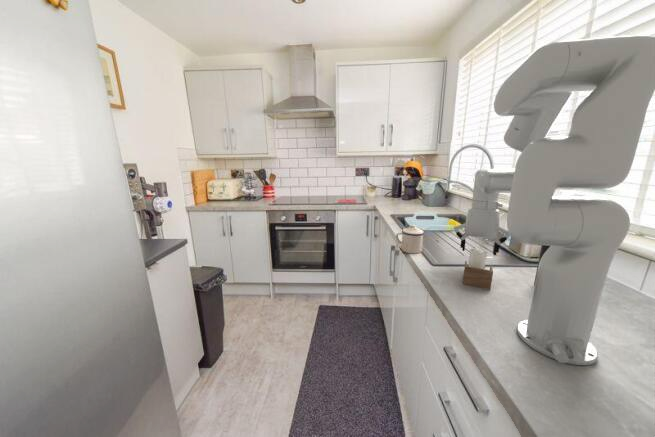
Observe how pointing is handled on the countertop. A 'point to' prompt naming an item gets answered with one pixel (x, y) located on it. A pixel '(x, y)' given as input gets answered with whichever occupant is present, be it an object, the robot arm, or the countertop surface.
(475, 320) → the countertop surface
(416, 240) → the teacup with lid
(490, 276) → the caddy
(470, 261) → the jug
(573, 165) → the robot arm
